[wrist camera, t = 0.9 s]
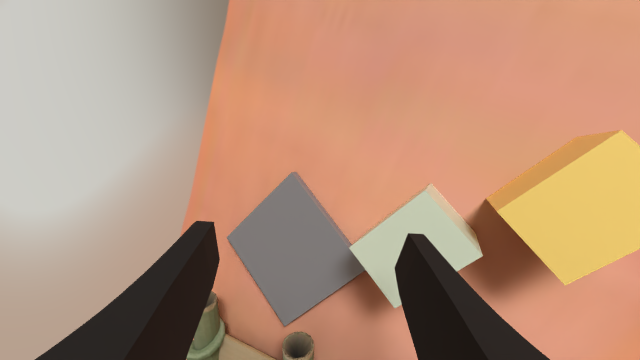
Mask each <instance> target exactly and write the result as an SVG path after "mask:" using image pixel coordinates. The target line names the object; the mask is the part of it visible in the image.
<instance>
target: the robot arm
mask: <svg viewBox="0 0 640 360" xmlns="http://www.w3.org/2000/svg"><path fill="white" fill-rule="evenodd" d="M219 260H220V259H219V252H218V246H217V240H216V233H215V227H214V222H206V221H196V222H195V223H193V224H192V225H191V226H190V228H189V229H188V230H187V231H186V232H185V233H184V234H183V235H182V236H181V237H180V238H179V239H178V240H177V241H176V242H175V243H174V244H173V245H172V246H171V247H170V248H169V249H168V250H167V252H166V253H164V254H163V255H162V256H161V257H160V258H159V259H158V260H157V261H156V262H155V263H154V264H153V265H152V266H151V267H150V268H149V269H148V270H147V271H146V272H145V273H144V274H143V275H142V276H140V277H139V278H138V279H137V280H136V281H135V282H134V283H133V284H132V285H130V286H129V287H128V288H127V289H126V290H125V291H124V292H123V293H122V294H120V295H119V296H118V297H117V298H116V299H114V300H113V301H112V302H111V303H110V304H108V305H107V306H106V307H105V308H104V309H103V310H101V311H100V312H99V313H98V314H96V315H95V316H94V317H92V318H91V319H90V320H89V321H87V322H86V323H85V324H83V325H82V326H81V327H79V328H78V329H77V330H76V331H74V332H73V333H71V334H70V335H69V336H67V337H66V338H65V339H63V340H62V341H61V342H59V343H58V344H56V345H55V346H54V347H52V348H51V349H50V350H48V351H47V352H45V353H44V354H42V355H41V356H39V357H38V358H37V359H35V360H186V358H187V355H188V352H189V349H190V346H191V344H192V341H193V338H194V336H195V333H196V330H197V328H198V325H199V322H200V320H201V317H202V314H203V312H204V309H205V307H206V304H207V301H208V298H209V296H210V293H211V290H212V288H213V284H214V280H215V277H216V273H217V268H218V264H219ZM395 274H396V281H397V286H398V292H399V296H400V300H401V303H402V306H403V310H404V313H405V317H406V320H407V323H408V327H409V330H410V333H411V337H412V340H413V343H414V347H415V350H416V353H417V357H418V360H550V359H549V358H547V357H546V356H545V355H544V354H542V353H541V352H540V351H539V350H538V349H536V348H535V347H534V346H533V345H532V344H530V343H529V342H528V341H527V340H526V339H525V338H523V337H522V336H521V335H520V334H519V333H518V332H517V331H516V330H515V329H513V328H512V327H511V326H510V325H509V324H508V323H507V322H506V321H505V320H503V319H502V318H501V317H500V316H499V315H498V314H497V313H496V312H495V311H494V310H493V309H492V308H491V307H490V306H489V305H488V304H487V303H486V302H485V301H484V300H483V299H482V298H481V297H480V296H479V295H478V294H477V293H476V292H475V291H474V290H473V289H472V288H471V287H470V286H469V284H468V283H467V282H466V281H465V280H464V279H463V278H462V277H461V276H460V275H459V274H458V273H457V271H456V270H455V269H454V268H453V267H452V266H451V265H450V264H449V262H448V261H447V260H446V259H445V258H444V257H443V256H442V254H441V253H440V252H439V251H438V250H437V249H436V247H435V246H434V245H433V244H432V243H431V242H430V241H429V239H428V238H427V237H426V236H425V235H424V234H414V233H408V235H407V237H406V240H405V242H404V245H403V247H402V250H401V252H400V255H399V258H398V260H397V263H396V265H395Z"/></svg>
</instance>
